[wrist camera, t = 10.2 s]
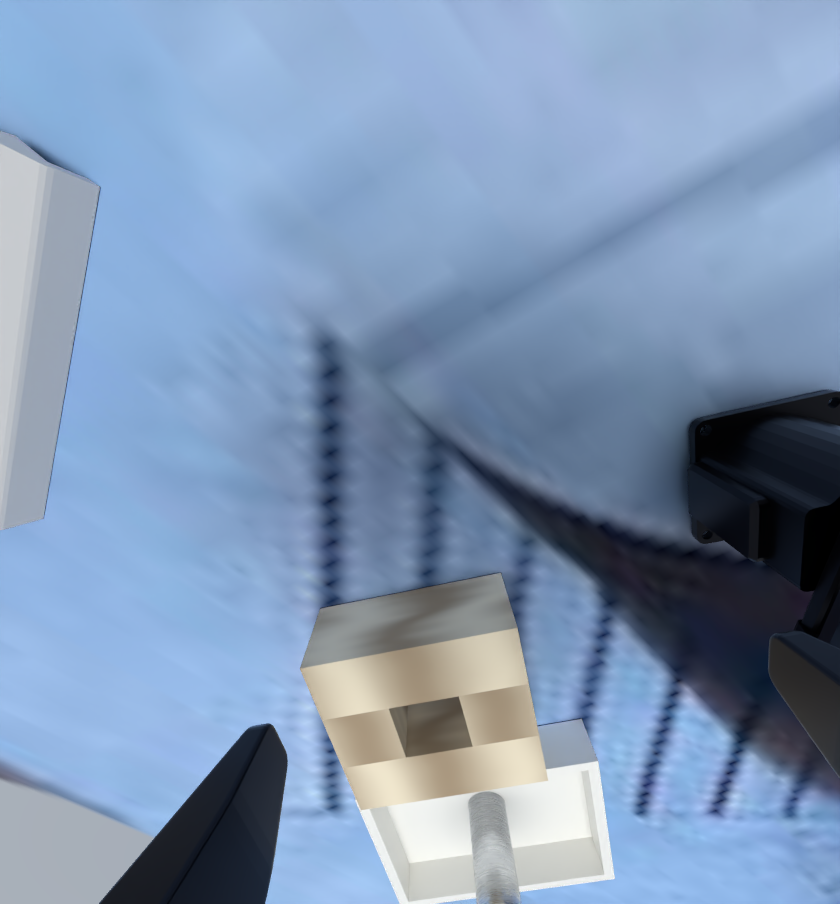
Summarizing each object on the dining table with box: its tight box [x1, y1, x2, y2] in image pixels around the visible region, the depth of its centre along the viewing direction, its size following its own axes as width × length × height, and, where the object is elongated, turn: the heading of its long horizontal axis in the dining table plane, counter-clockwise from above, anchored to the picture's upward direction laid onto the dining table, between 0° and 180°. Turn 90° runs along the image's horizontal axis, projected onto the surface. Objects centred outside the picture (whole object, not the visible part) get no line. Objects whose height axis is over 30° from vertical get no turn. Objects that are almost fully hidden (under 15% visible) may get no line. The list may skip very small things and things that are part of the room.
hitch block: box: [300, 573, 548, 810], centre depth 22 cm, size 10×10×4 cm
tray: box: [355, 719, 615, 904], centre depth 26 cm, size 14×11×2 cm
